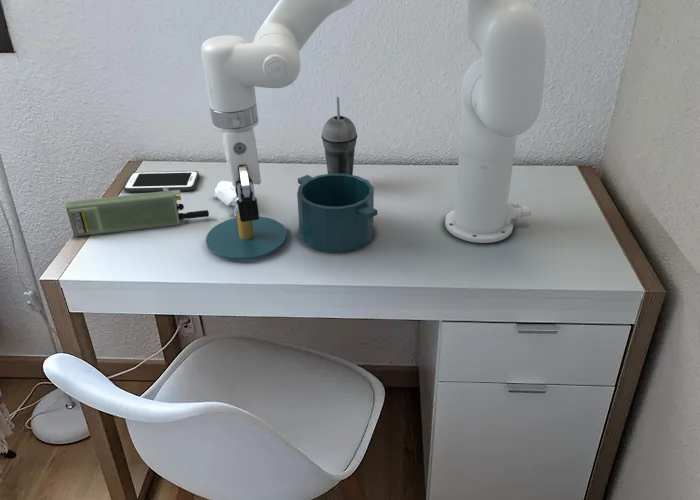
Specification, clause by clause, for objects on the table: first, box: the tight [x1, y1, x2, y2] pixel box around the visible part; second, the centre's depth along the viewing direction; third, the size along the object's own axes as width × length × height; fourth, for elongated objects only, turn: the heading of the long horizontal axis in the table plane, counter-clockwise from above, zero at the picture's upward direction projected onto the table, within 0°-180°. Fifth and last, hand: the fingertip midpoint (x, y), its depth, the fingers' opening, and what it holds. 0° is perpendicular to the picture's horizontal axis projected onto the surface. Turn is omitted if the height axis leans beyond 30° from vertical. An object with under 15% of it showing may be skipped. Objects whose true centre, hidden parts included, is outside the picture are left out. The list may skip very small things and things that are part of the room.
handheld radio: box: [65, 190, 210, 237], centre depth 124 cm, size 7×3×25 cm
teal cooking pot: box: [296, 173, 378, 254], centre depth 120 cm, size 14×19×9 cm
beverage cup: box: [321, 96, 358, 175], centre depth 133 cm, size 7×7×20 cm
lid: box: [205, 212, 288, 261], centre depth 119 cm, size 15×15×6 cm
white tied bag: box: [213, 180, 239, 217], centre depth 131 cm, size 5×7×10 cm
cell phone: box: [123, 170, 200, 193], centre depth 140 cm, size 8×15×1 cm, turn 92°
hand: (247, 206), depth 117 cm, fingers open, 9 cm apart
